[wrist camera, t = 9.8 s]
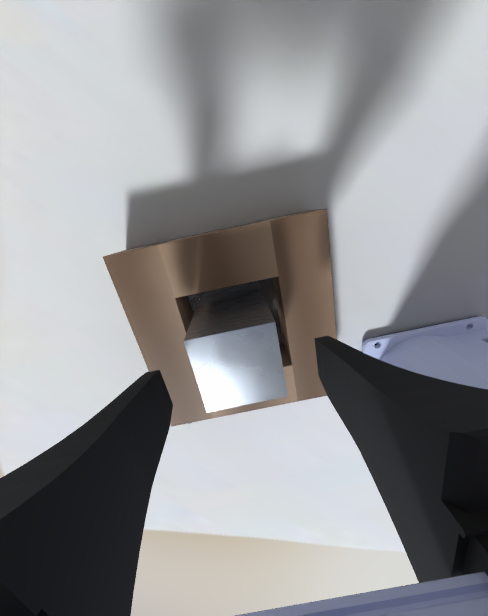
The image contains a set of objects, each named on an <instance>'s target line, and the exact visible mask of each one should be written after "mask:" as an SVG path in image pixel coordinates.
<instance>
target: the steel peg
mask: <svg viewBox="0 0 488 616" xmlns="http://www.w3.org/2000/svg"><path fill="white" fill-rule="evenodd" d="M184 344H185V347H186V350H187V353H188V356H189V359H190V362H191V365H192V368H193V371H194V374H195V377H196V380H197V384H198V387H199V390H200V393H201V396H202V399H203V402H204V405H205V408H206V411H207V412H212V411H217V410H222V409H227V408H232V407H237V406H242V405H247V404H252V403H257V402H262V401H267V400H272V399H277V398H282V397H287V396H288V393H287V387H286V382H285V376H284V370H283V364H282V358H281V353H280V347H279V341H278V335H277V329H276V323H275V320H274V318H273V316H272V313H271V311H270V309H269V306H268V304H267V302H266V300H265V297H264V295H263V293H262V290H261V288H260V286H259V283H258V282H253V283H248V284H244V285H239V286H234V287H230V288H225V289H220V290H215V291H211V292H206V293H202V294H201V296H200V299H199V301H198V304H197V307H196V309H195V312H194V315H193V317H192V320H191V323H190V325H189V328H188V330H187V333H186V336H185V338H184Z"/></svg>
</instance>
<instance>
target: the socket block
mask: <svg viewBox="0 0 488 616" xmlns="http://www.w3.org/2000/svg"><path fill="white" fill-rule="evenodd" d="M103 259H104V261H105V264H106V266H107V269H108V271H109V274H110V276H111V279H112V281H113V284H114V286H115V288H116V291H117V293H118V296H119V298H120V301H121V303H122V306H123V308H124V311H125V313H126V316H127V318H128V321H129V323H130V326H131V328H132V330H133V333H134V335H135V338H136V340H137V343H138V345H139V348H140V350H141V353H142V355H143V358H144V360H145V363H146V365H147V367H148V370H149V372H151V371H155V370H160V372H161V374H162V377H163V379H164V382H165V385H166V387H167V390H168V392H169V395H170V398H171V400H172V403H173V409H172V416H171V422H170V424H171V426H176V425H181V424H186V423H191V422H196V421H201V420H206V419H211V418H216V417H221V416H226V415H231V414H236V413H241V412H246V411H251V410H256V409H261V408H266V407H271V406H276V405H281V404H286V403H291V402H296V401H301V400H307V399H312V398H317V397H322V396H327V394H326V392H325V389H324V387H323V385H322V383H321V380H320V378H319V375H318V366H317V357H316V348H315V339H314V338H318V337H323V336H330V337H332V338H334V339H336V326H335V313H334V299H333V286H332V273H331V259H330V246H329V232H328V219H327V209H320V210H310V211H305V212H300V213H296V214H291V215H286V216H282V217H277V218H272V219H268V220H263V221H258V222H254V223H249V224H244V225H240V226H235V227H231V228H226V229H221V230H217V231H212V232H207V233H203V234H198V235H193V236H189V237H184V238H179V239H175V240H170V241H165V242H161V243H156V244H152V245H147V246H142V247H138V248H133V249H128V250H124V251H121V252H118V253H114V254H111V255H107V256H104V257H103ZM268 278H272V280H273V286H274V292H275V298H276V305H277V311H278V317H279V323H280V329H281V335H282V341H283V343H280V344H279V347H280V353H281V358H282V364H283V370H284V376H285V382H286V387H287V393H288V396H287V397H282V398H277V399H272V400H267V401H262V402H257V403H252V404H247V405H242V406H237V407H232V408H227V409H222V410H217V411H212V412H207V411H206V408H205V405H204V402H203V399H202V396H201V393H200V390H199V387H198V384H197V380H196V377H195V374H194V371H193V368H192V365H191V362H190V359H189V356H188V353H187V350H186V347H185V344H184V338H185V336H186V333H187V330H188V328H189V325H190V323H191V320H192V317H193V312H192V309H191V305H190V302H189V299H188V295H192V294H197V293H202V292H207V291H211V290H216V289H221V288H226V287H230V286H235V285H240V284H245V283H249V282H254V281H259V280H264V279H268Z"/></svg>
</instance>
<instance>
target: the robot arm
mask: <svg viewBox="0 0 488 616" xmlns="http://www.w3.org/2000/svg"><path fill="white" fill-rule="evenodd" d="M467 325H468V326H467ZM314 339H315V348H316V357H317V366H318V375H319V378H320V380H321V383H322V385H323V387H324V389H325V392H326V394H327V396H328V397H329V399H330V401H331V403H332V404H333V406H334V408H335V409H336V411H337V413H338V414H339V416H340V418H341V419H342V421H343V423H344V424H345V426H346V428H347V429H348V431H349V433H350V434H351V436H352V437H353V439H354V441H355V443H356V445H357V446H358V448H359V450H360V452H361V454H362V456H363V458H364V460H365V462H366V465H367V467H368V469H369V471H370V473H371V475H372V477H373V479H374V481H375V484H376V486H377V488H378V490H379V492H380V494H381V497H382V499H383V501H384V503H385V505H386V507H387V510H388V512H389V514H390V516H391V519H392V521H393V523H394V525H395V528H396V530H397V532H398V535H399V537H400V539H401V541H402V544H403V546H404V548H405V551H406V553H407V555H408V558H409V560H410V562H411V565H412V567H413V569H414V571H415V574H416V577H417V579H418V581H419V583H417V584H411V585H406V586H400V587H394V588H389V589H384V590H377V591H372V592H366V593H360V594H355V595H349V596H343V597H338V598H332V599H327V600H321V601H315V602H310V603H304V604H299V605H293V606H287V607H281V608H275V609H270V610H264V611H259V612H253V613H248V614H242V615H236V616H488V318H485V317H483V316H478V317H473V318H469V319H464V320H459V321H454V322H449V323H444V324H439V325H434V326H429V327H424V328H419V329H414V330H410V331H405V332H400V333H395V334H390V335H385V336H380V337H375V338H370V339H367V340H365V341H364V342H363V345H362V348H363V352H361V351H359V350H356V349H354V348H352V347H350V346H348V345H346V344H344V343H342V342H340V341H338V340H336V339H334V338H332V337H330V336H323V337H318V338H314ZM377 342H378V344H377V345H376V346H374V345H375V344H376V343H377ZM172 409H173V403H172V400H171V398H170V395H169V392H168V390H167V387H166V385H165V382H164V379H163V377H162V374H161V372H160V370H155V371H151V372H147V373H145V374H144V375H142V376H141V377H140V378H139V379H137V380H136V381H135V382H134V383H133V384H132V385H130V386H129V387H128V388H127V389H126V390H125V391H124V392H122V393H121V394H120V395H119V396H118V397H117V398H115V399H114V400H113V401H112V402H111V403H110V404H108V405H107V406H106V407H105V408H104V409H102V410H101V411H100V412H99V413H97V414H96V415H95V416H94V417H93V418H91V419H90V420H89V421H88V422H86V423H85V424H84V425H82V426H81V427H80V428H78V429H77V430H76V431H74V432H73V433H71V434H70V435H69V436H67V437H66V438H64V439H63V440H62V441H60V442H59V443H57V444H56V445H54V446H53V447H51V448H49V449H48V450H46V451H45V452H43V453H42V454H40V455H39V456H37V457H35V458H34V459H32V460H31V461H29V462H28V463H26V464H24V465H23V466H21V467H19V468H18V469H16V470H14V471H12V472H11V473H9V474H7V475H6V476H4V477H2V478H0V616H130V614H131V606H132V599H133V590H134V584H135V578H136V571H137V564H138V558H139V551H140V546H141V540H142V534H143V529H144V523H145V518H146V513H147V508H148V503H149V498H150V493H151V489H152V485H153V481H154V477H155V474H156V471H157V467H158V464H159V461H160V457H161V454H162V451H163V447H164V444H165V441H166V437H167V434H168V431H169V427H170V422H171V416H172Z"/></svg>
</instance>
